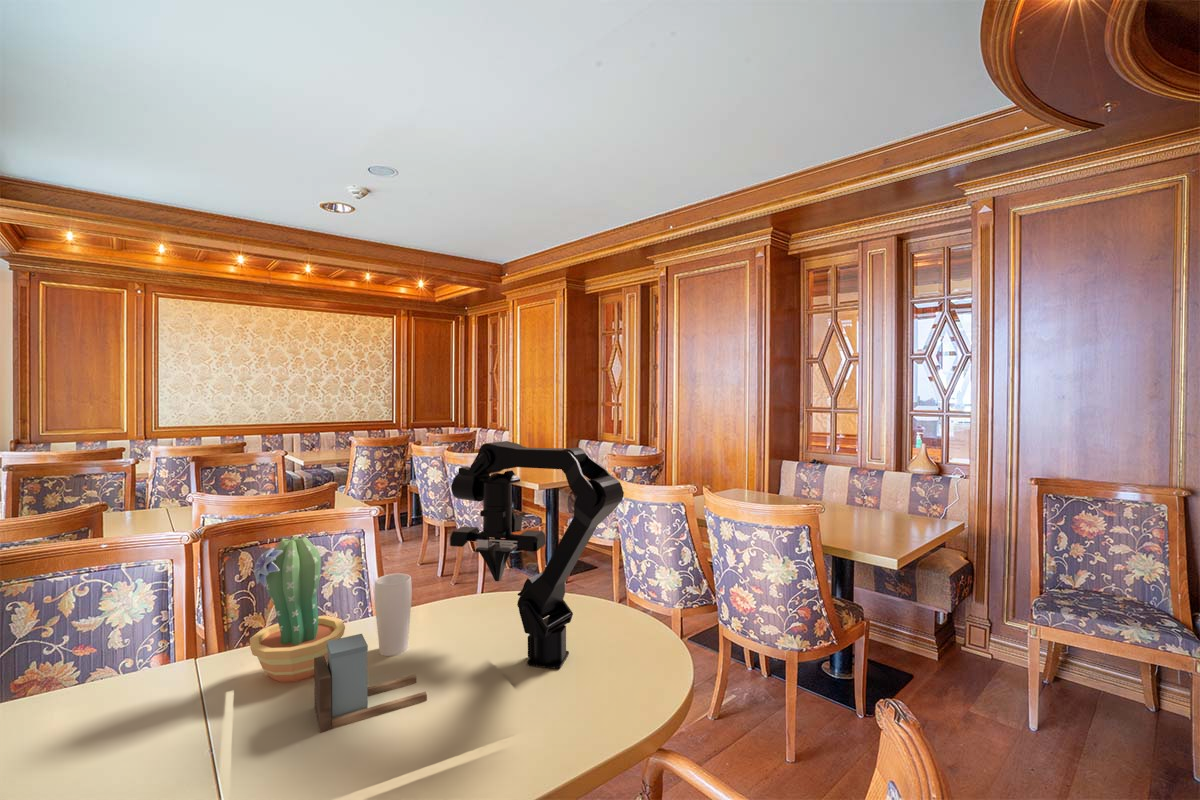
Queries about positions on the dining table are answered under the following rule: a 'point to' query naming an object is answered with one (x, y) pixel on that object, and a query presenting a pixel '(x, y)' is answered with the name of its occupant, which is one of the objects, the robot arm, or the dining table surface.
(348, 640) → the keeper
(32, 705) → the dining table surface
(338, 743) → the dining table surface
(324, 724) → the track
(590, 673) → the dining table surface
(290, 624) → the potted cactus
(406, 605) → the drinking glass
